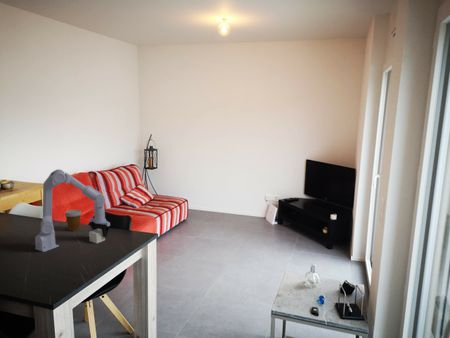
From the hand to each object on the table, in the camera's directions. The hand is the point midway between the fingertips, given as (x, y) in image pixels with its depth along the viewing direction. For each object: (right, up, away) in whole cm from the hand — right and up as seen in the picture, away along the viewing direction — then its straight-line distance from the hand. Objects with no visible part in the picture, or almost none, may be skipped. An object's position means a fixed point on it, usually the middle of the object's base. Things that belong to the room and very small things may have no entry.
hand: (100, 235), depth 206 cm
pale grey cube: (-1, -3, -2) cm, 3 cm away
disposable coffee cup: (-22, +1, +15) cm, 27 cm away
